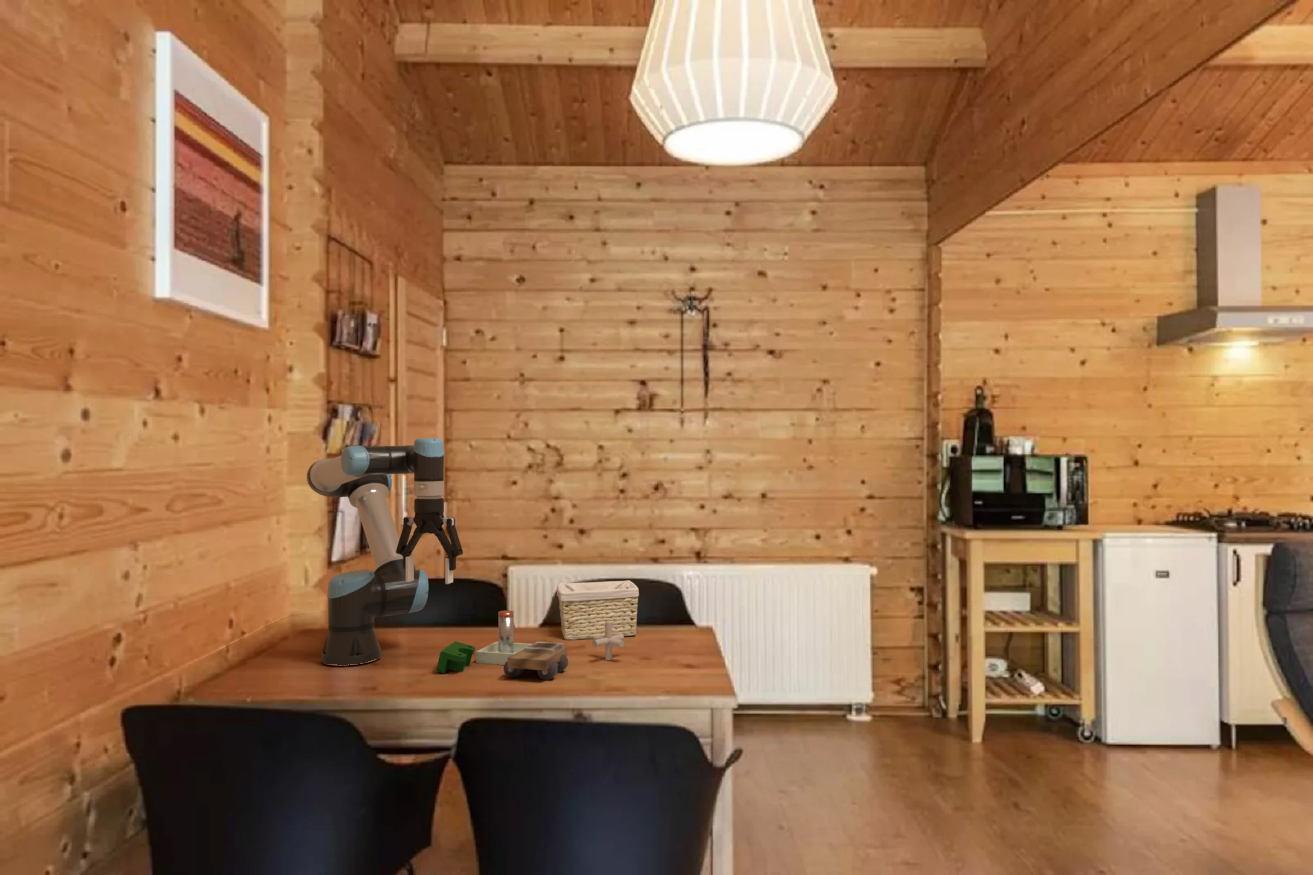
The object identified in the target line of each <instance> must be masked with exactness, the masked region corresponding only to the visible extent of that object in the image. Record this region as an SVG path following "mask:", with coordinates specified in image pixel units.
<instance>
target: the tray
mask: <svg viewBox="0 0 1313 875" xmlns="http://www.w3.org/2000/svg"><path fill="white" fill-rule="evenodd" d="M532 644H533V643H523V642H521V643H520V642H514V653H502V652H499V641H495V642H492V643H490V644H488V645H487V646H484V647H483V648H480V649H479V650H475V651H476V652H475V655H476V656H475V657H476V658H475V662H476V664H482V665H483V664H487V665H497V664H499V665H501V666H504V664H505V663H506V662H507V661H508V657H510V656H512V655H514V654H515V653H517V652H519V651H521V650H523V649H524V648H526V647H528V646H530V645H532Z"/></svg>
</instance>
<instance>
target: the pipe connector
mask: <svg viewBox="0 0 1313 875" xmlns="http://www.w3.org/2000/svg"><path fill="white" fill-rule="evenodd" d="M592 640H593V641H592V646H593V648H598V647H602V646H605V647H604V649H605V650H604V653H605V656H604V658H605V661H607V660H610V661H612V660H613V646H614V647H619V648H623V647H624V646H625V641H624V640H625V636H623V634H619V635H615V636H612V622H610V621H607V622H605V637H604V636H600V635H595V636H594V638H593V639H592Z"/></svg>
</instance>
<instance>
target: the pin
mask: <svg viewBox="0 0 1313 875" xmlns="http://www.w3.org/2000/svg"><path fill="white" fill-rule="evenodd" d="M514 615H515V614H514V610H500V611H498V642H499V652H502V653H514V643H515V638H514V636H515V631H514V630H515V628H514V627H515V622H514V621H515V620H514V617H515V616H514Z"/></svg>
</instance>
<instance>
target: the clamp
mask: <svg viewBox="0 0 1313 875" xmlns="http://www.w3.org/2000/svg"><path fill="white" fill-rule="evenodd" d="M475 651H476V646H474V645H470V644H467V643H464V642H460V641H457V640H455V641H453V642H452V643H451V644H449V645H448V646H446V647H445V648H443V649H442V650H441V651H440V653H439V657H438V662H437V664H436V673H437V672H438V673H440V674H444V673H445V672H446V673H448V672H449V671H450V670H452V671H456V672H460V673H464V669H465V667H466V666H468V667H470V666H471V661H472V657H473V655H474V654H475V653H476V652H475ZM468 667H467V668H468ZM449 669H450V670H449ZM448 670H449V671H448ZM446 673H445V674H446Z"/></svg>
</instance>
